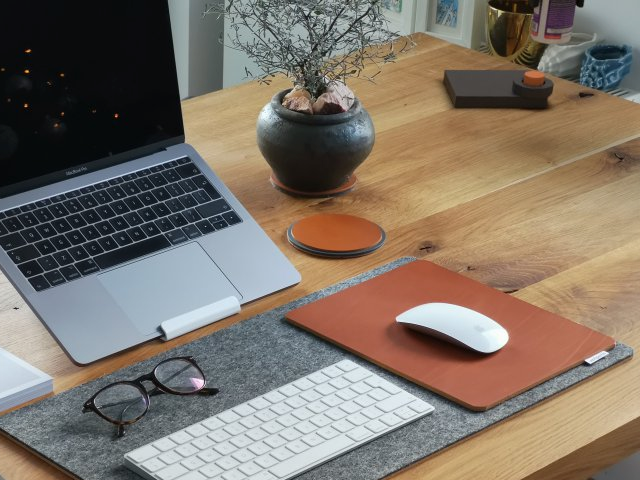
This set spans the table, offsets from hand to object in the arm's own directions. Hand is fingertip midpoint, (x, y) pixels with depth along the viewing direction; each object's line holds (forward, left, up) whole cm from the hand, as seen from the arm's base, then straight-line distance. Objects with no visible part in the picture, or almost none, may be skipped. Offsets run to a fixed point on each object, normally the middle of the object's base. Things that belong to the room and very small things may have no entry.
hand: (555, 3), depth 150 cm
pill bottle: (0, 0, -5) cm, 5 cm away
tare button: (-2, -14, -16) cm, 21 cm away
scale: (+3, -18, -19) cm, 26 cm away
